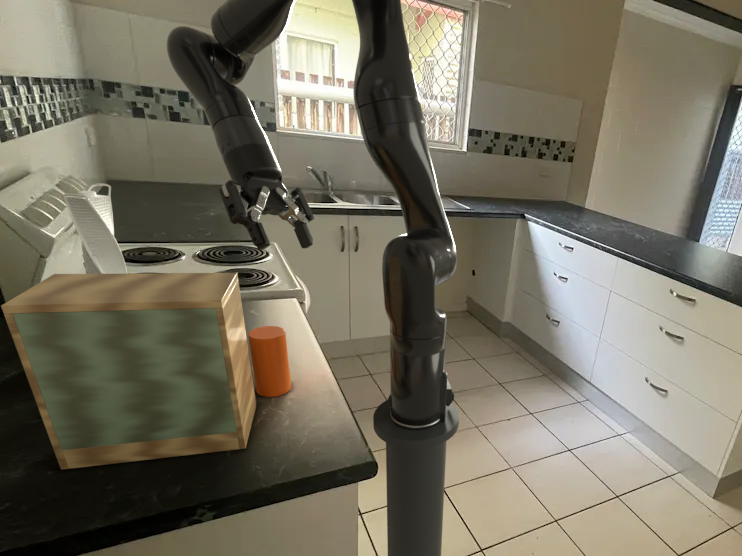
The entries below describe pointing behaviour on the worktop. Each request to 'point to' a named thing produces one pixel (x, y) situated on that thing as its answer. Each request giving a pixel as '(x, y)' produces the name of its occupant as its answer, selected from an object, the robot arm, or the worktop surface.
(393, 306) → the robot arm
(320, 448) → the worktop surface
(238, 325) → the shelf unit
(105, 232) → the box grater
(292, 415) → the worktop surface
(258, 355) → the can
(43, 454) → the worktop surface
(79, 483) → the worktop surface
